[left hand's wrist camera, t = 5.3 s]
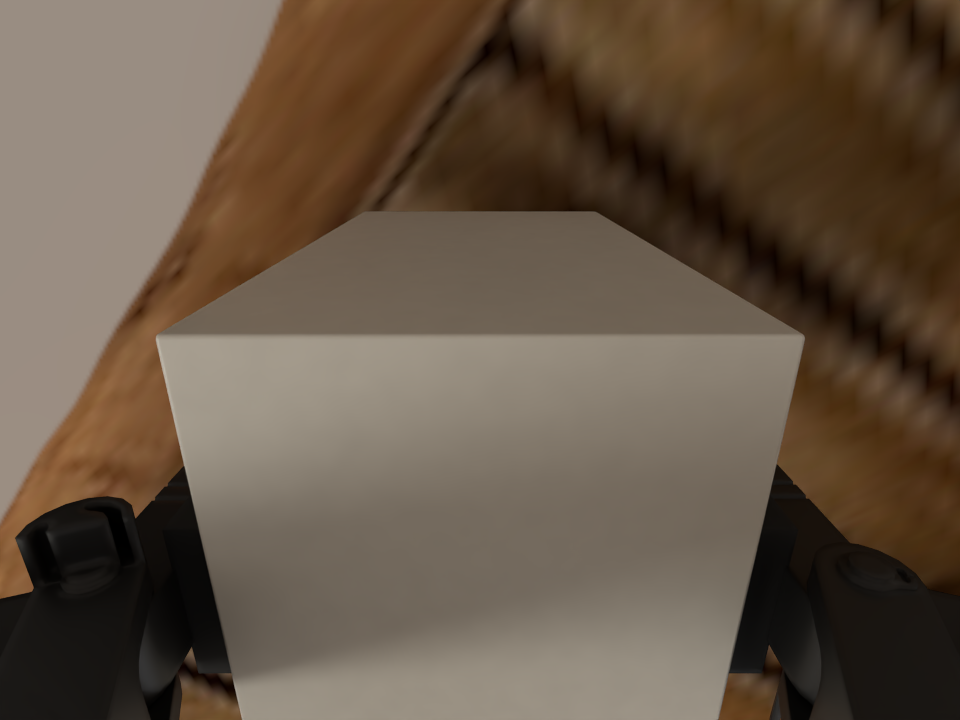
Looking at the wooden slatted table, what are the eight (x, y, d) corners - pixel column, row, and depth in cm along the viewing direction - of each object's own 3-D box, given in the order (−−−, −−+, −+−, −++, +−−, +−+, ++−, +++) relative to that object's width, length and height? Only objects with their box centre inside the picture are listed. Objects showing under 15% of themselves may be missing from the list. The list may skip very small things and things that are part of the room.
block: (363, 211, 17) (151, 335, 6) (596, 211, 17) (809, 334, 6) (381, 452, 20) (264, 823, 9) (578, 452, 20) (696, 823, 9)
